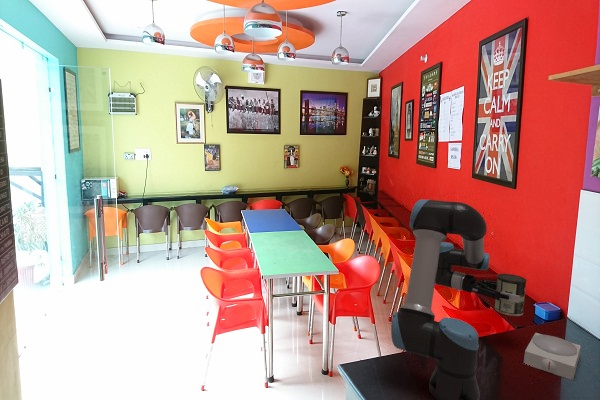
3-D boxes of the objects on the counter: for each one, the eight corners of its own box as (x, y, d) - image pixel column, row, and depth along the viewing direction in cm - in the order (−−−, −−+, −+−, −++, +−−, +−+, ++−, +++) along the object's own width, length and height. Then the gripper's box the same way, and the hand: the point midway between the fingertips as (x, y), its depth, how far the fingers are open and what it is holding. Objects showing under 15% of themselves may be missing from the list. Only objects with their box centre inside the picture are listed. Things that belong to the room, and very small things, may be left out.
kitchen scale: (523, 364, 141) (524, 349, 140) (534, 344, 156) (535, 330, 155) (572, 381, 131) (574, 365, 130) (579, 357, 146) (581, 343, 146)
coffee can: (517, 307, 158) (521, 274, 157) (527, 317, 148) (530, 282, 147) (491, 304, 160) (494, 272, 159) (498, 314, 150) (501, 280, 149)
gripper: (471, 284, 174) (527, 297, 160) (454, 297, 157) (514, 313, 143) (473, 268, 173) (529, 280, 159) (455, 279, 156) (516, 293, 142)
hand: (522, 295), depth 151 cm, fingers closed on coffee can, 10 cm apart
